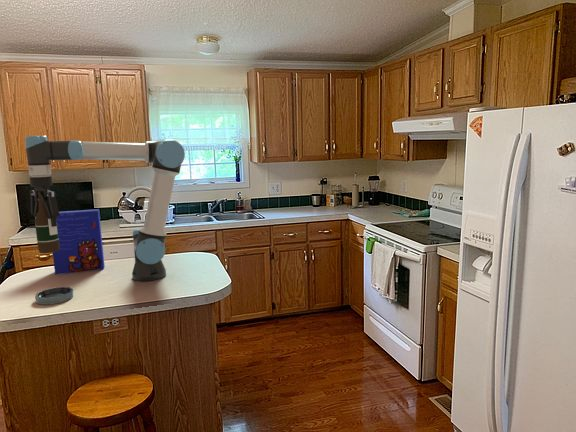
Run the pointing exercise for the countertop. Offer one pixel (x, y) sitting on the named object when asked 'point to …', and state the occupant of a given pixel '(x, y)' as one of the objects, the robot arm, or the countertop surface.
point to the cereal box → (79, 242)
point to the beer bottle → (45, 231)
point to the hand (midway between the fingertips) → (47, 233)
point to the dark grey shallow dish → (54, 295)
